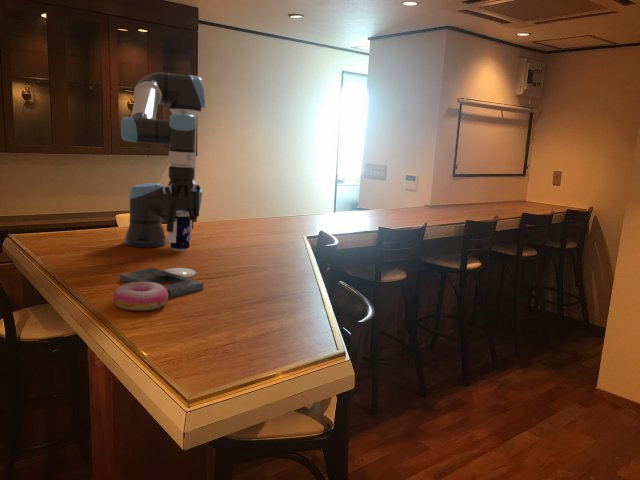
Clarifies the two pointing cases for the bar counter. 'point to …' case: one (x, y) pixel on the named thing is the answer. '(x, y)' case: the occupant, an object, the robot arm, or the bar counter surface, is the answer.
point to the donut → (140, 296)
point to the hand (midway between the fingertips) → (180, 240)
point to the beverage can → (182, 231)
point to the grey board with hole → (158, 276)
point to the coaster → (182, 272)
